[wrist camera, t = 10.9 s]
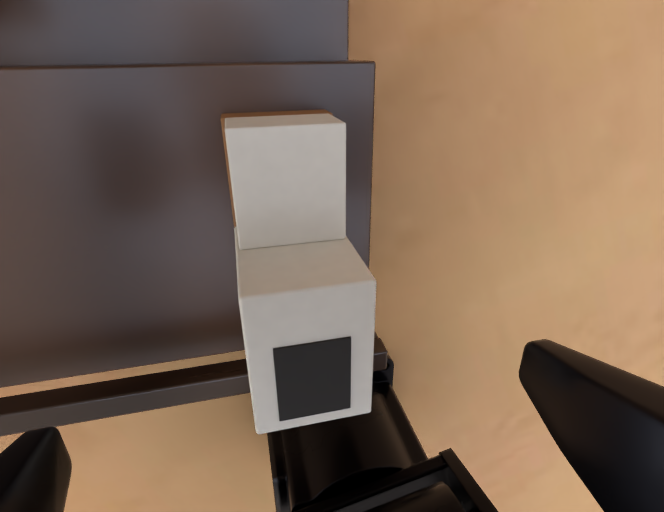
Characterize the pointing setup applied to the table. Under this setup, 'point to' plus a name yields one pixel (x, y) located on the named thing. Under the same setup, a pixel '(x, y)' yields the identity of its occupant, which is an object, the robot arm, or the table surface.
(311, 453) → the robot arm
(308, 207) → the white l-shaped block
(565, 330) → the table surface
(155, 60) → the shoe rack
